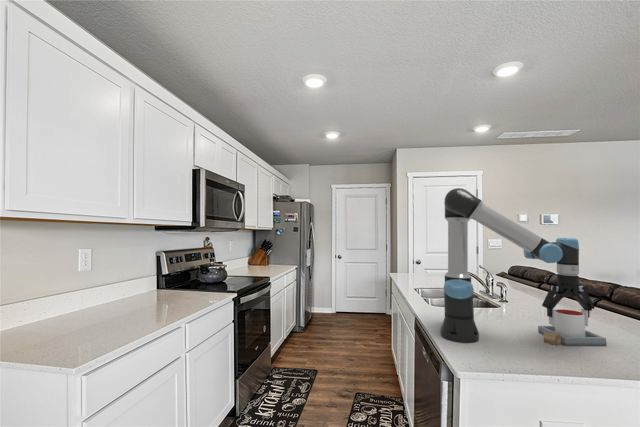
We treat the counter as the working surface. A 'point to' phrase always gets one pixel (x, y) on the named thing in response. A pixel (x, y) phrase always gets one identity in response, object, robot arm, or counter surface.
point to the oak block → (552, 338)
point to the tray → (577, 338)
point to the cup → (569, 323)
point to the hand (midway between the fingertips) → (568, 325)
